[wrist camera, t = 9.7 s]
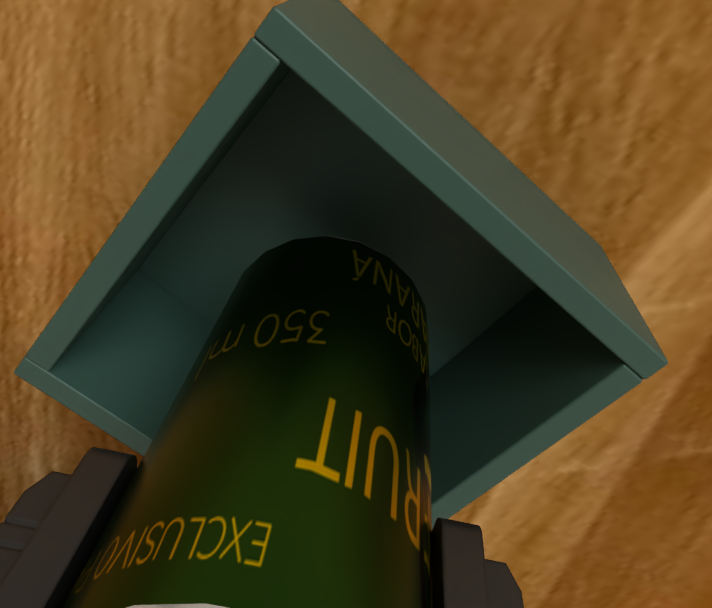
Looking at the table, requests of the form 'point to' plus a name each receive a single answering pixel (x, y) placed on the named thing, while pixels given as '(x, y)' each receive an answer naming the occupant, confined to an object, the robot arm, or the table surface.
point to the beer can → (287, 451)
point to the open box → (364, 224)
